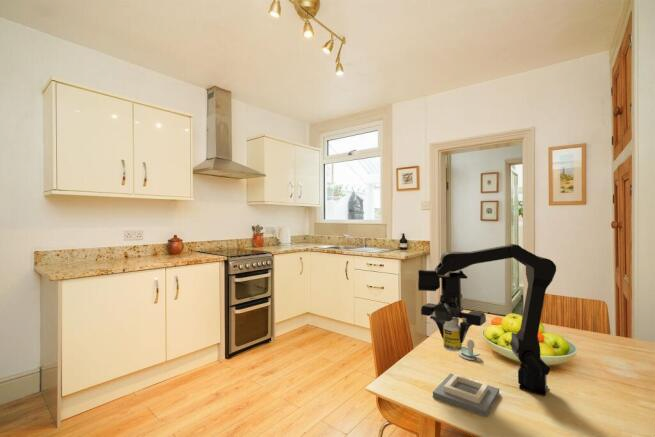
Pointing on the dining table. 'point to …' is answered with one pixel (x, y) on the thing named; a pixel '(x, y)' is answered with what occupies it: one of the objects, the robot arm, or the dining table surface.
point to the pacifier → (469, 353)
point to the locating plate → (467, 394)
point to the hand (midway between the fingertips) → (452, 340)
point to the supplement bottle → (452, 335)
